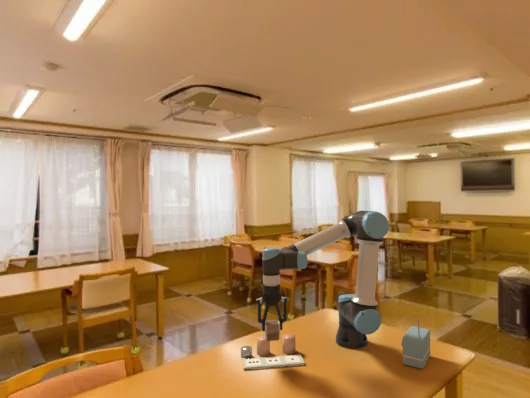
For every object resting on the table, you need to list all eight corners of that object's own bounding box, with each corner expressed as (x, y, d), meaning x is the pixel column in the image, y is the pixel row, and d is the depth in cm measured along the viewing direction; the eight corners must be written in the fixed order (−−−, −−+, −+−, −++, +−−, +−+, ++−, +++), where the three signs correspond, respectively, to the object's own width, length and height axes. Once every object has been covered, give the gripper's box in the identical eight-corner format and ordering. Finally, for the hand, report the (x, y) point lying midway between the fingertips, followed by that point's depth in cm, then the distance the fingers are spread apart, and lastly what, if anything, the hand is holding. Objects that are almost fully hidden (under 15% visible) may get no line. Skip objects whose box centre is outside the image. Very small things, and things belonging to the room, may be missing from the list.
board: (300, 356, 155) (300, 353, 155) (304, 365, 147) (304, 362, 147) (242, 361, 152) (242, 358, 152) (243, 370, 144) (243, 367, 144)
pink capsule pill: (269, 350, 162) (268, 335, 162) (270, 356, 156) (270, 340, 156) (256, 351, 162) (256, 336, 162) (257, 357, 156) (257, 341, 156)
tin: (251, 354, 159) (251, 345, 159) (252, 359, 154) (252, 350, 154) (240, 355, 158) (240, 346, 158) (241, 360, 153) (241, 351, 153)
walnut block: (278, 340, 147) (278, 323, 147) (267, 341, 147) (267, 324, 147) (277, 335, 152) (276, 319, 152) (265, 336, 152) (265, 320, 152)
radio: (409, 351, 158) (408, 307, 158) (430, 356, 153) (429, 311, 153) (400, 365, 145) (399, 317, 145) (423, 371, 140) (422, 321, 140)
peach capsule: (294, 348, 164) (293, 333, 164) (296, 354, 158) (296, 338, 158) (281, 349, 163) (281, 334, 163) (284, 355, 157) (283, 339, 157)
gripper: (290, 281, 154) (291, 333, 154) (249, 282, 152) (250, 335, 152) (293, 285, 147) (294, 339, 147) (251, 287, 145) (252, 342, 145)
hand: (272, 337), depth 149 cm, fingers closed on walnut block, 5 cm apart
